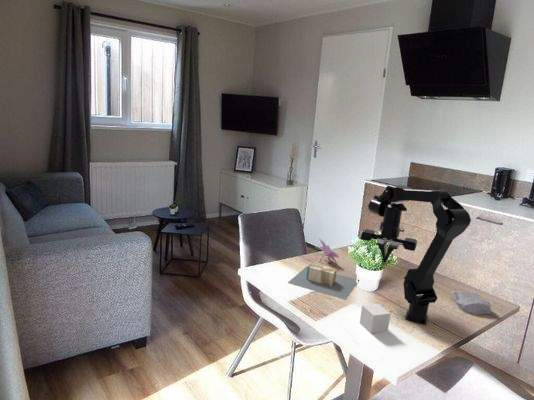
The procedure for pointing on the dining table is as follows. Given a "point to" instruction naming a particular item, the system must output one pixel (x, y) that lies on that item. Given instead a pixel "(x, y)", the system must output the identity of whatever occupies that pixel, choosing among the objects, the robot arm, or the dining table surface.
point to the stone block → (471, 302)
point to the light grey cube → (375, 318)
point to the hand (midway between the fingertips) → (384, 262)
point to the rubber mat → (338, 289)
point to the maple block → (321, 274)
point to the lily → (328, 251)
